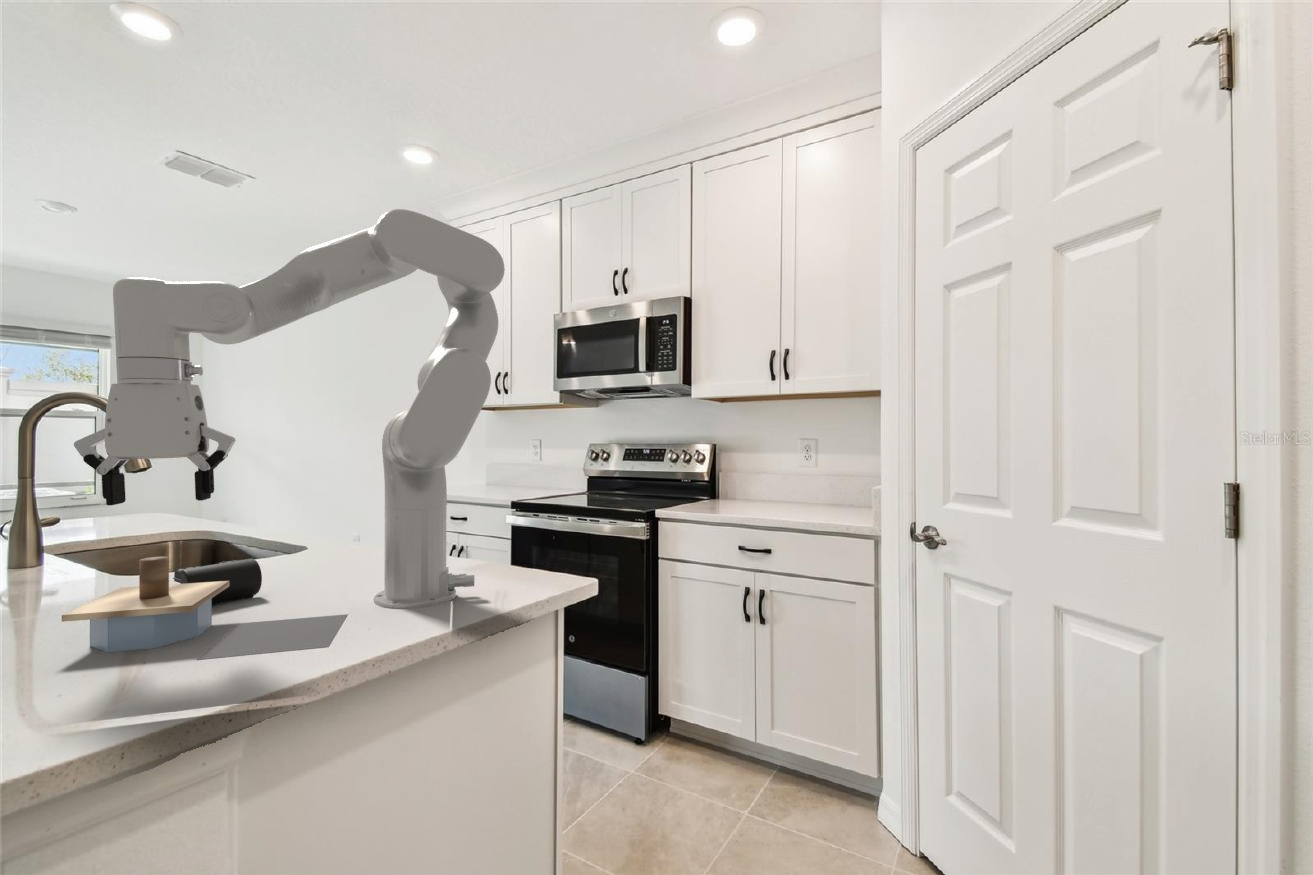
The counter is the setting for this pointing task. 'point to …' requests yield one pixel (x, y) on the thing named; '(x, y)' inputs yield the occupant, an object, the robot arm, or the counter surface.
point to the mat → (276, 636)
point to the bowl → (149, 629)
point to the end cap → (226, 578)
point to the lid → (149, 595)
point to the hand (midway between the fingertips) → (160, 501)
